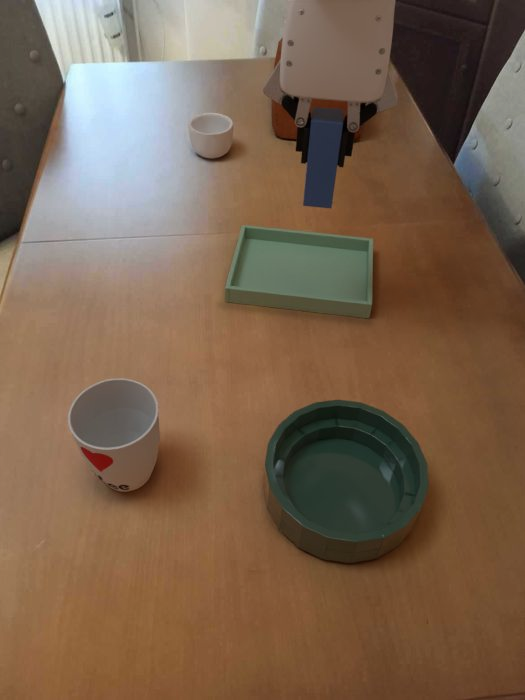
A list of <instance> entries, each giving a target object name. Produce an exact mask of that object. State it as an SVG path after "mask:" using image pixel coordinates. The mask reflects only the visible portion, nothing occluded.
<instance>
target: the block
mask: <svg viewBox="0 0 525 700" xmlns="http://www.w3.org/2000/svg"><path fill="white" fill-rule="evenodd" d="M343 118H344V109H335V108H323V107H313V112H312V119H311V128H310V138H309V148H308V159H307V163H306V168H305V169H306V171H305V179H304V180H305V181H304V190H303V199H302V206H303V207H312V208H319V209H321V208H322V209H332V207H333V206H332V205H333V200H334V192H335V185H336V178H337V171H338V166H337V164H338V157H339V150H340V143H341V136H342V128H343Z"/></svg>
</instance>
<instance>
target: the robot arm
mask: <svg viewBox="0 0 525 700" xmlns="http://www.w3.org/2000/svg"><path fill="white" fill-rule="evenodd" d="M285 9H286V10H285V17H284V23H283V24H284V25H283V31H282V32H283V33H282V38H283V41H282V51H281V59H280V61H279V62H278V64H277V65H276V67H275V69H274V68H273V70H272V72H271V73H270V75H269V77H268V78H267V80H266V81H265V83H264V87H263V94H264V95H265V96H266V97H268V98H269V99H270V100H271V101H272V100H274V101H275V102H277V103H280V104H281V105H282V107H283V108H284V109H285V110H286V111H287V113H288V114H289V115H290V116H291V117H292V118H293V119H294V121H295V124H296V126H297V139H295V140H296V141H295V152H300V153H301V156H300V157H301V158H300V164H302V165H303V164H304V165H307V159H308V148H309V138H310V128H311V119H312V118H311V113H310V112H309V110H310V105H311V100H312V98H313V99H323V100H335V101H346V102H348V114H347V115H346V116H345V118H344V121H343V128H342V136H341V143H340V150H339V157H338V164H337V167H338V168H344V167H345V166H344V165H345V158H346V157H352V154H353V149H354V143H355V140H354V137H355V132H356V131H357V130H358V129H359V127H360V126H361V125H362V124H363V125H364V124H365V123H367V122H368V121H369V120H371V119H372V118H373V117H374V116H376V115H377V114H378V113H382V112H385V111H388V110H390V109H393V108H395V107H396V106H397V105H398V103H399V99H398V98H399V97H398V92H397V89H396V87H395V83H394V81H393V78H392V75H391V72H390V69H389V64H390V58H391V50H392V44H393V43H392V41H393V33H394V23H395V10H396V0H287V2H286V8H285ZM297 97H299V99H298V98H297ZM360 103H362V104H360Z"/></svg>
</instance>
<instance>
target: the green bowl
mask: <svg viewBox="0 0 525 700" xmlns="http://www.w3.org/2000/svg"><path fill="white" fill-rule="evenodd" d="M428 469H429V468H428V462H427V460H426V457H425V455H424V452H423V451H422V448H421V445H420V444H419V442H418V441H417V439H416V438H415V437H414V435H412V434H411V432H410V431H409V429H407V427H406V426H405V425H404V424H403V423H402V422H400V421H399V420H397V419H396V418H394V417H393V416H392V415H390V414H389V413H387V412H386V411H385V410H383V409H380V408H377V407H374V406H372V405H370V404H367V403H364V402H361V401H353V400H347V399H346V400H345V399H331V400H324V401H323V400H322V401H316V402H313V403H310V404H308V405H306V406H304V407H301V408H299V409H296V410H294V411H293V412H292V413H291V414H289V415H287V417H286V418H285V419H284V420H283V421H281V422H280V423H279V424H278V425H277V426H276V429H275V430H274V432H273V434H272V436H271V437H270V439H269V441H268V443H267V447H266V454H265V461H264V469H263V485H262V487H263V488H262V489H263V494H264V498H265V503H266V509H267V510H268V513H269V514H270V516H271V518H272V519H273V521H274V523H275V524H276V526H277V528H278V530H279V531H280V533H282V534H283V535H284V536H285V537H286V538H288V539H289V540H290V541H291V542H292V543H293V544H294V545H295V546H297V548H299V549H300V550H302V551H305V552H307V553H309V554H311V555H313V556H315V557H317V558H319V559H322V560H326V561H331V562H333V561H334V562H340V563H345V564H353V563H359V562H365V561H371V560H376V559H378V558H380V557H382V556H384V555H385V554H387V553H389V552H391V551H393V550H394V549H396V548H398V547H399V545H400V544H402V542H403V541H404V539H405V538H406V537H407V536H408V535H409V534H410V533H411V531H412V530H413V528H414V526H415V523H416V521H417V519H418V517H419V515H420V513H421V510H422V509H423V505H424V502H425V499H426V497H427V493H428V490H429V483H430V482H429V470H428Z"/></svg>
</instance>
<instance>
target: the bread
mask: <svg viewBox="0 0 525 700" xmlns="http://www.w3.org/2000/svg"><path fill="white" fill-rule="evenodd" d="M282 41H283V37H282V38H281V39H280V40H278V43H277V49H276V53H275V59H274V64H273V70H274V69H275V67H276V65H277V64H278V62H279V61H280V59H281V51H282ZM297 98H298V99H299V97H297ZM360 104H362V103H360ZM313 107H323V108H335V109H344V118H345V116H346V115H347V114H348V102H346V101H335V100H323V99H313V98H312V100H311V105H310V110H309V112H310V113H311V118H312V112H313ZM344 118H343V121H344ZM271 125H272V126H271V127H272V130H273V132H274V135H275V136H277V137H279V138H281V139H290V140H296V139H297V126H296V124H295V121H294V119H293V118H292V117H291V116H290V115H289V114H288V113H287V111H286V110H285V109H284V108H283V107H282V105H281V104H280V103H277V102H275V101H274V100H272V99H271ZM363 128H364V124H362V125H361V126H360V127H359V129H358V130H357V131H356V132H355V137H354V141H355V140H356V139H358V138H359V137H360V136H361V134H362V130H363Z"/></svg>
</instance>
